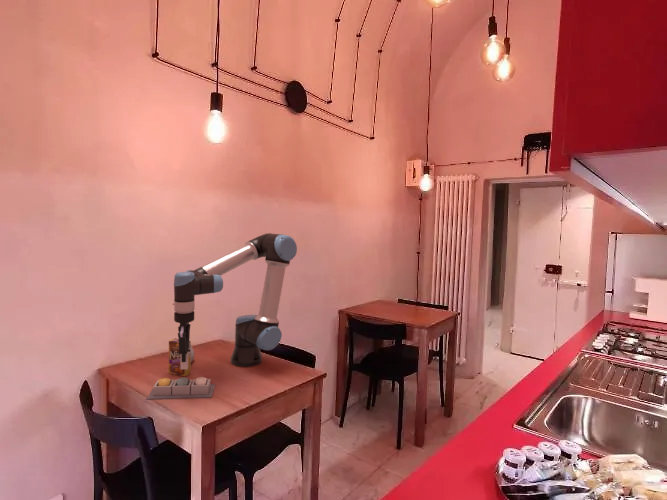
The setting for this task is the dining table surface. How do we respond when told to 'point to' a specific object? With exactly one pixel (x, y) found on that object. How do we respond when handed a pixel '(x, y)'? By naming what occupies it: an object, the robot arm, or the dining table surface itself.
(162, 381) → the mustard button
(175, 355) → the candy box
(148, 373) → the dining table surface
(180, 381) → the teal button
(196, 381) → the ivory button
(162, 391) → the button panel
